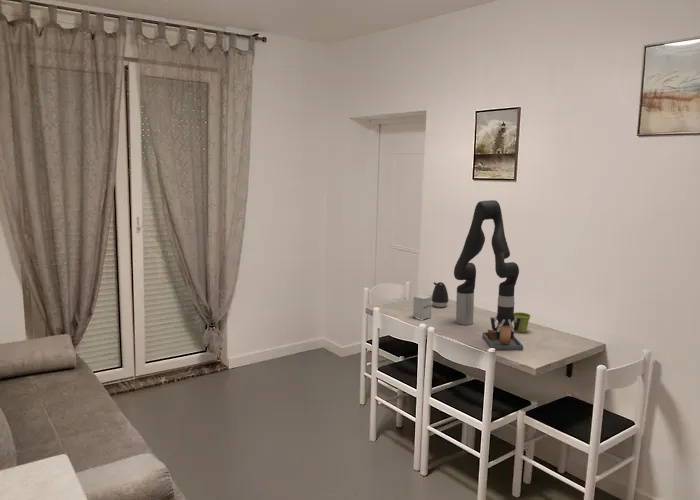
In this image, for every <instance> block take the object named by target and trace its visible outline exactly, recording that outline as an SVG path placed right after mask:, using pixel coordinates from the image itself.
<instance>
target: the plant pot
mask: <svg viewBox="0 0 700 500" xmlns="http://www.w3.org/2000/svg"><path fill="white" fill-rule="evenodd" d="M514 317H516V318H517V317H519V318H520V324H519V328H518V330H516V331H515V332H516V333H519V334H520V333H526V332H527V331H528V327H529V321H530V318H531V317H532V316H531V314H529V313H527V312H520V311H519V312H518V311H517V312H514ZM514 326H515V319H514V321H513V327H514Z"/></svg>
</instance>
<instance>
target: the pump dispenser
mask: <svg viewBox="0 0 700 500" xmlns="http://www.w3.org/2000/svg"><path fill="white" fill-rule="evenodd" d="M433 285H434V288H433V291H432V295H431V297H432V299H431V304H432V305H433V306H434V307H435V306H436V308H439V307H442V308H445V307H446V306H447V305H448V303H449V293H448V290H447V286H446V284H445V283H444V282H441V281H439V282H433Z"/></svg>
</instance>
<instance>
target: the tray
mask: <svg viewBox="0 0 700 500" xmlns="http://www.w3.org/2000/svg"><path fill="white" fill-rule="evenodd" d="M481 335H482V338H483V340H484V341H485V342H486V343H487V344H488V346H489V347H490V348H491V347H492V348H495V349H496V350H495V351H524V345H523V344H522V343H521V341H519V340H518V338H517V337H515V336H514V337H513V338H512V339H511V343H509V344H503V343H499V342H498V340H490V339H489V338H488V331H487V332H486V331H485V332H482V334H481Z"/></svg>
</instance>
